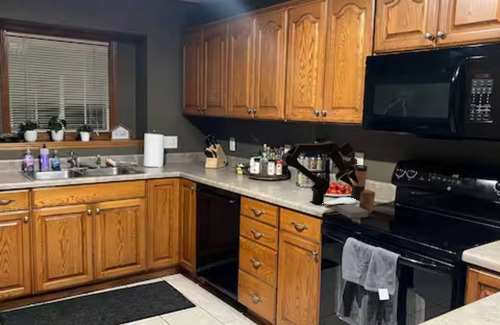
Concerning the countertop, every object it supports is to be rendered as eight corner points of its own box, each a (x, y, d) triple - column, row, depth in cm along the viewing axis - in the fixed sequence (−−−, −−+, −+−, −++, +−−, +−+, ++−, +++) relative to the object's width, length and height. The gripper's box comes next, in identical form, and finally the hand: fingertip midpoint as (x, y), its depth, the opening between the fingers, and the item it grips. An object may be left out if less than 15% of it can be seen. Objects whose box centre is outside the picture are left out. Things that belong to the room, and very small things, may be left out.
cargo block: (362, 195, 238) (363, 190, 238) (365, 194, 241) (365, 189, 241) (370, 197, 236) (370, 192, 236) (372, 195, 239) (373, 190, 239)
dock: (336, 211, 236) (337, 206, 235) (352, 209, 241) (353, 204, 240) (351, 218, 225) (351, 212, 225) (367, 216, 230) (368, 211, 230)
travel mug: (354, 196, 269) (358, 164, 265) (365, 199, 264) (369, 166, 260) (348, 198, 264) (351, 165, 260) (359, 201, 259) (363, 168, 255)
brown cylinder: (358, 211, 240) (360, 192, 237) (362, 208, 245) (364, 190, 242) (369, 213, 236) (371, 194, 234) (372, 210, 241) (375, 192, 239)
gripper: (343, 154, 233) (361, 178, 230) (355, 151, 249) (372, 173, 245) (327, 166, 239) (345, 190, 235) (340, 162, 254) (356, 184, 251)
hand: (355, 184), depth 242 cm, fingers open, 9 cm apart
